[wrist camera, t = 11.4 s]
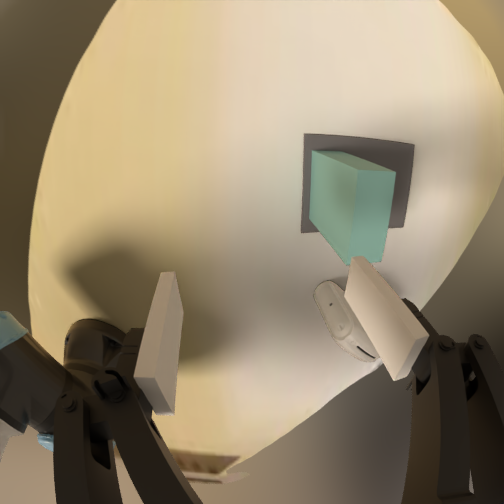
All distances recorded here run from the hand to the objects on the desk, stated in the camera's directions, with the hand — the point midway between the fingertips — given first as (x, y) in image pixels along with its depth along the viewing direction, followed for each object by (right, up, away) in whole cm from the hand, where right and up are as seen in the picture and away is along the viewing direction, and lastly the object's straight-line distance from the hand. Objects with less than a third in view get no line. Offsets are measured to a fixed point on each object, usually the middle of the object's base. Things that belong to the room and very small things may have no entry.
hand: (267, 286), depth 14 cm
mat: (+14, +11, +19) cm, 26 cm away
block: (+9, +10, +19) cm, 23 cm away
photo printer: (+13, -6, +29) cm, 32 cm away
